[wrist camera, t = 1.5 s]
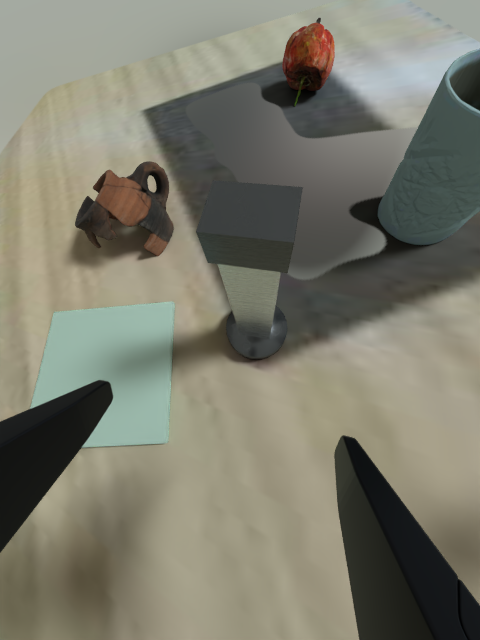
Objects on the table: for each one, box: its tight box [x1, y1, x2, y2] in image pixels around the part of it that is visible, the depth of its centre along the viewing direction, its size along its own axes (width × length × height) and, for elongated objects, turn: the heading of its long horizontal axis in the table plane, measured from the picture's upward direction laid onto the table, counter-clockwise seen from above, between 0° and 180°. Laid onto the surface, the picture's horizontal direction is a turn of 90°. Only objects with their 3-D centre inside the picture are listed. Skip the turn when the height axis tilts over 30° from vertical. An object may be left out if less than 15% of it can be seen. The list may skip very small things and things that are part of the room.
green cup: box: [377, 49, 480, 245], centre depth 21 cm, size 10×10×12 cm
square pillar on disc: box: [196, 181, 302, 360], centre depth 16 cm, size 6×6×16 cm
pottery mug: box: [75, 162, 174, 256], centre depth 27 cm, size 12×10×8 cm
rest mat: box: [30, 302, 175, 447], centre depth 23 cm, size 14×14×1 cm
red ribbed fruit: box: [283, 18, 334, 106], centre depth 33 cm, size 7×7×10 cm
